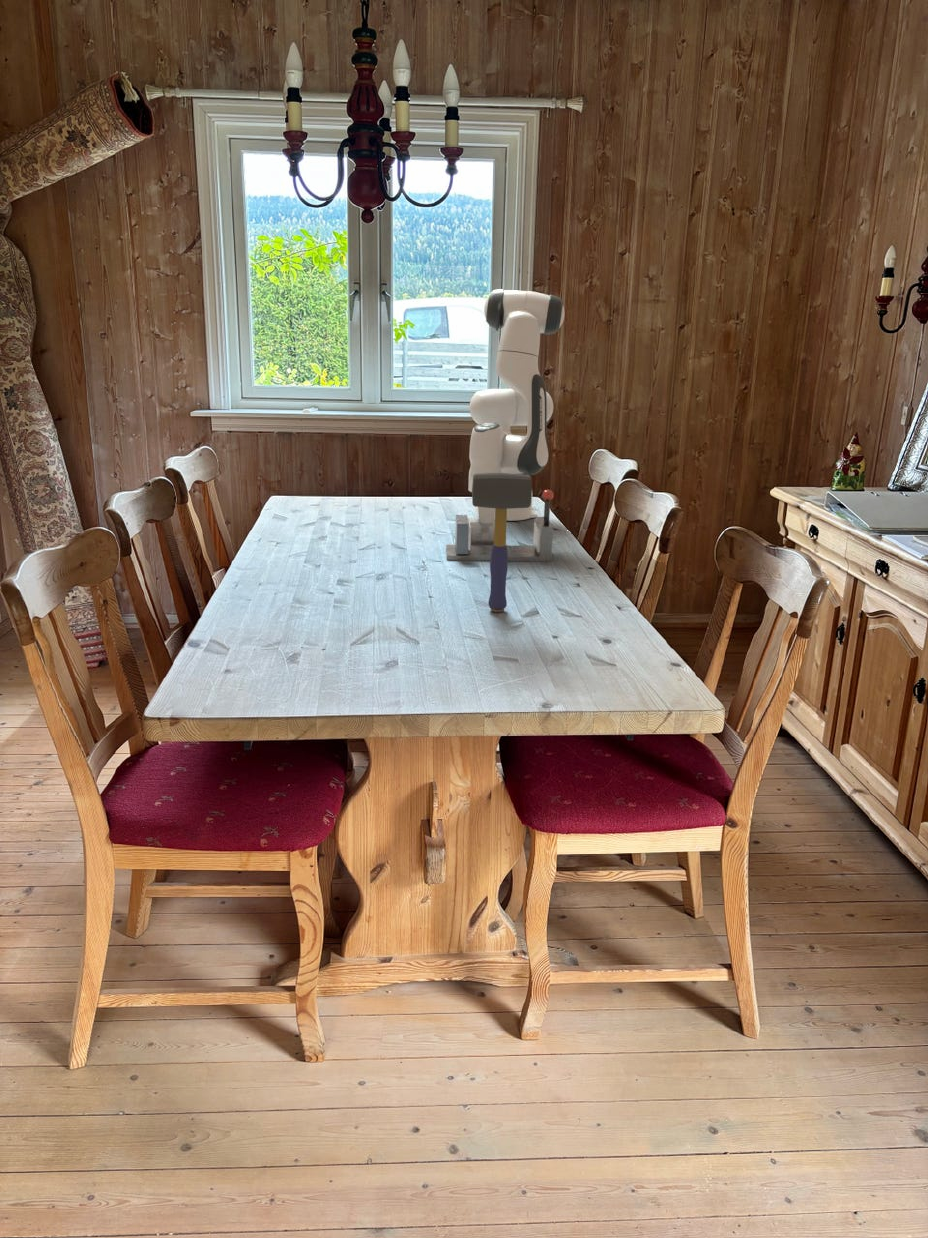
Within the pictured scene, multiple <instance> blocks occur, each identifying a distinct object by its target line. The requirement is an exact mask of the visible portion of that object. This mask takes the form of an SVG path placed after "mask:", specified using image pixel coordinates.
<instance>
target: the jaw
mask: <svg viewBox="0 0 928 1238" xmlns="http://www.w3.org/2000/svg"><path fill="white" fill-rule="evenodd" d="M454 528H455V529H454V530H455V537H454V539H455V540H454V545H455V547H456V554H468V550H470V543H471V525H470V520H469V519H468V515H467V514H455V527H454Z"/></svg>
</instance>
